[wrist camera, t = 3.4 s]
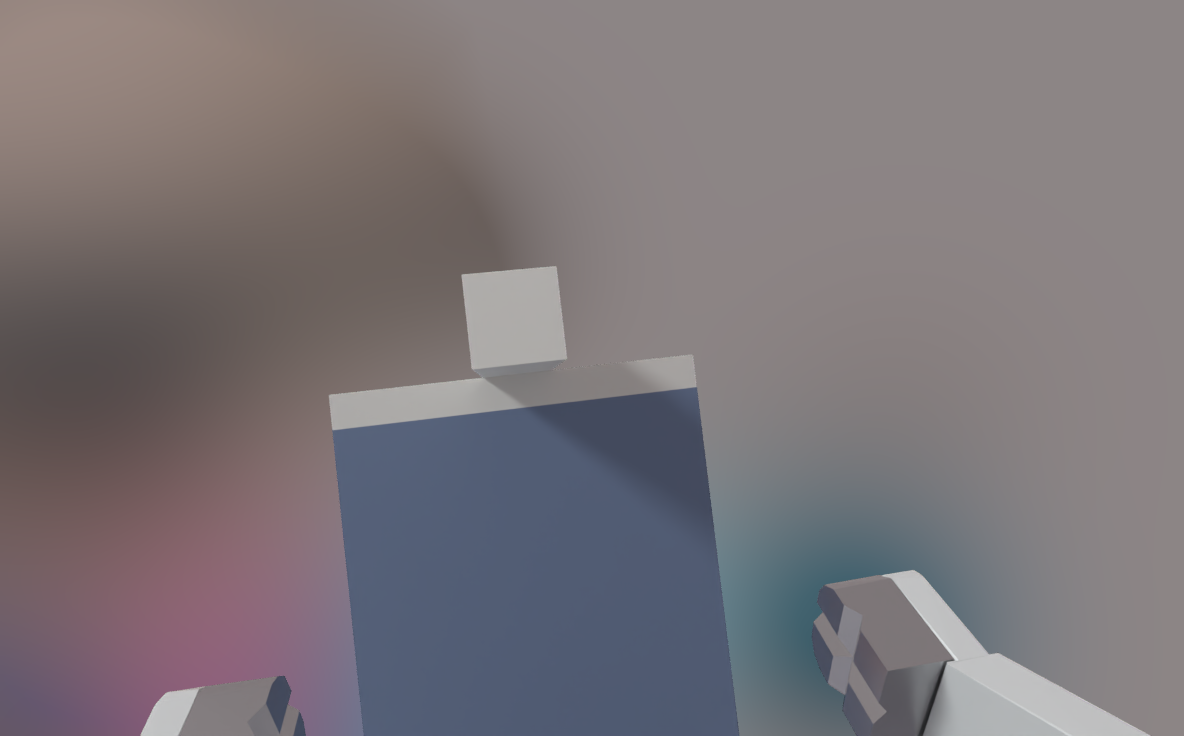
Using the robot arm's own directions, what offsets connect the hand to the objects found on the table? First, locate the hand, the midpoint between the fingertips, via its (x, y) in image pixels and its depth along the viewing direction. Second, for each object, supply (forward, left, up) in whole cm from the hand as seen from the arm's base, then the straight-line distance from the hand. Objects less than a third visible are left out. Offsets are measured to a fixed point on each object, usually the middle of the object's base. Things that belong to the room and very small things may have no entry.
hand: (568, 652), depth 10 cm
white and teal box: (+20, 0, +5) cm, 21 cm away
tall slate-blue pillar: (+24, 0, -21) cm, 32 cm away
